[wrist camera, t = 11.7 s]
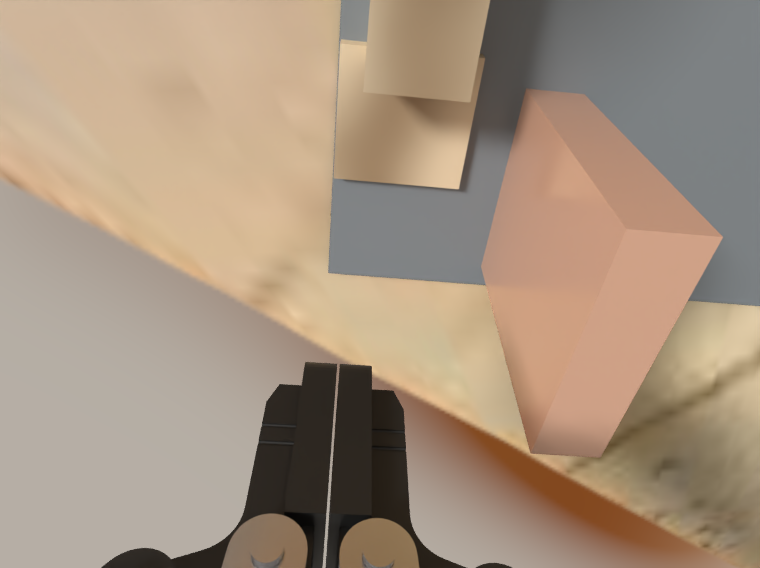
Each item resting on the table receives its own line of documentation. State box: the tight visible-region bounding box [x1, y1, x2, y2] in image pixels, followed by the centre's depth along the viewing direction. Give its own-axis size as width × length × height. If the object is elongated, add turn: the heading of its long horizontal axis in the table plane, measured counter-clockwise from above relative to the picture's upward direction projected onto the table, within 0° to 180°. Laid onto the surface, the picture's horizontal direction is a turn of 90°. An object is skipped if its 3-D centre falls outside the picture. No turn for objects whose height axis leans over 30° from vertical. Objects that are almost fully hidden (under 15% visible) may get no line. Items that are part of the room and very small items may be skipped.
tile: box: [481, 89, 723, 457], centre depth 18 cm, size 2×8×10 cm, turn 174°
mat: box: [328, 0, 760, 306], centre depth 20 cm, size 22×19×1 cm
